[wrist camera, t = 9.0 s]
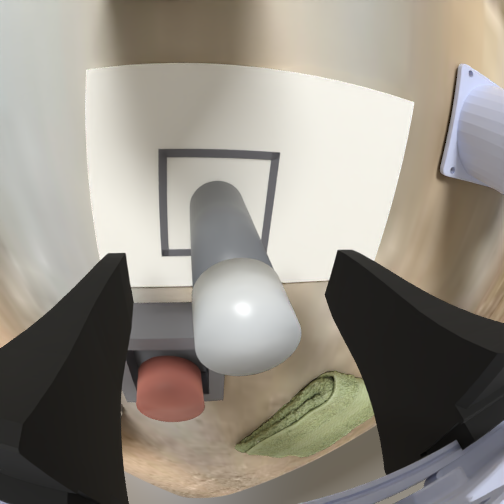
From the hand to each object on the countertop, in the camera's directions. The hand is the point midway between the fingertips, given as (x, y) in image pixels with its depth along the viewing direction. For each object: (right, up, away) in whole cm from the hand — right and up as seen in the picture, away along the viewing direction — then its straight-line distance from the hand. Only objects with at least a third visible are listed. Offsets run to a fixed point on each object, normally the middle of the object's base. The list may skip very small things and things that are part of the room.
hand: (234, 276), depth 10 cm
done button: (-5, -7, +7) cm, 11 cm away
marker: (-1, +3, +5) cm, 6 cm away
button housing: (-5, -5, +10) cm, 12 cm away
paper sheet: (+1, +4, +5) cm, 7 cm away
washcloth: (+8, -18, +21) cm, 29 cm away
